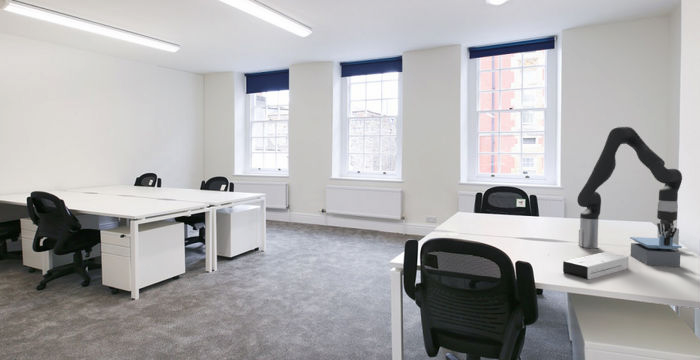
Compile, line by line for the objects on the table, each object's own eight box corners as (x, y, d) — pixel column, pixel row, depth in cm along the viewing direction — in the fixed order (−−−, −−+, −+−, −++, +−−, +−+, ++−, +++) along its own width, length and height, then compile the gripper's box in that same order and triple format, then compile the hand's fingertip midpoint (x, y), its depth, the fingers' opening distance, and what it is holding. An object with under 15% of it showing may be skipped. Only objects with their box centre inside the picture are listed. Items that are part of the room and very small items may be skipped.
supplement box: (678, 250, 219) (679, 228, 218) (663, 250, 221) (664, 228, 220) (670, 247, 226) (671, 226, 225) (656, 247, 228) (657, 226, 227)
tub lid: (649, 249, 189) (649, 236, 188) (630, 240, 209) (630, 227, 209) (684, 251, 185) (685, 237, 185) (661, 241, 205) (662, 229, 205)
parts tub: (646, 264, 192) (647, 251, 191) (630, 255, 209) (631, 243, 209) (679, 266, 188) (680, 252, 188) (660, 257, 206) (661, 244, 205)
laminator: (587, 280, 171) (587, 266, 170) (560, 273, 181) (560, 260, 181) (628, 269, 187) (628, 256, 186) (601, 263, 197) (601, 251, 197)
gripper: (651, 207, 194) (649, 241, 195) (665, 211, 181) (664, 247, 182) (668, 208, 192) (667, 242, 193) (684, 212, 179) (682, 248, 180)
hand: (665, 244), depth 188 cm, fingers closed on tub lid, 1 cm apart
